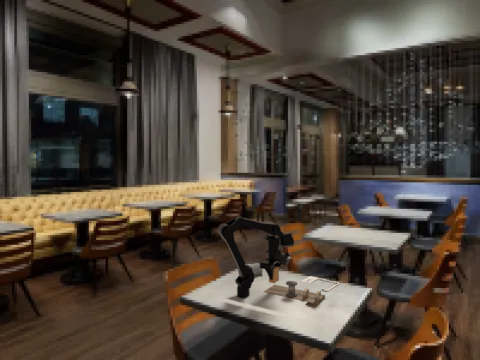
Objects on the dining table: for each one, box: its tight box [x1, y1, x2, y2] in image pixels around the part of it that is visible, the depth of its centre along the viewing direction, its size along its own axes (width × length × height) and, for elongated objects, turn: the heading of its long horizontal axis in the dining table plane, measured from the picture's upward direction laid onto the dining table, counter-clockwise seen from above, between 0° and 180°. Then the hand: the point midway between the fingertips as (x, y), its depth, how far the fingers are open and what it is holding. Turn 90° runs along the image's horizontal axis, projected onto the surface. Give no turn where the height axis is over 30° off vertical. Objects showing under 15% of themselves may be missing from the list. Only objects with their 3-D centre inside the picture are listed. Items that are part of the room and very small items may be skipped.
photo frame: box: [300, 276, 341, 292], centre depth 188 cm, size 15×1×18 cm
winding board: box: [263, 280, 326, 308], centre depth 171 cm, size 12×28×8 cm, turn 56°
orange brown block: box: [268, 266, 280, 284], centre depth 175 cm, size 3×5×7 cm, turn 146°
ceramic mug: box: [248, 262, 264, 279], centre depth 200 cm, size 11×8×8 cm
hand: (273, 278), depth 175 cm, fingers closed on orange brown block, 5 cm apart
